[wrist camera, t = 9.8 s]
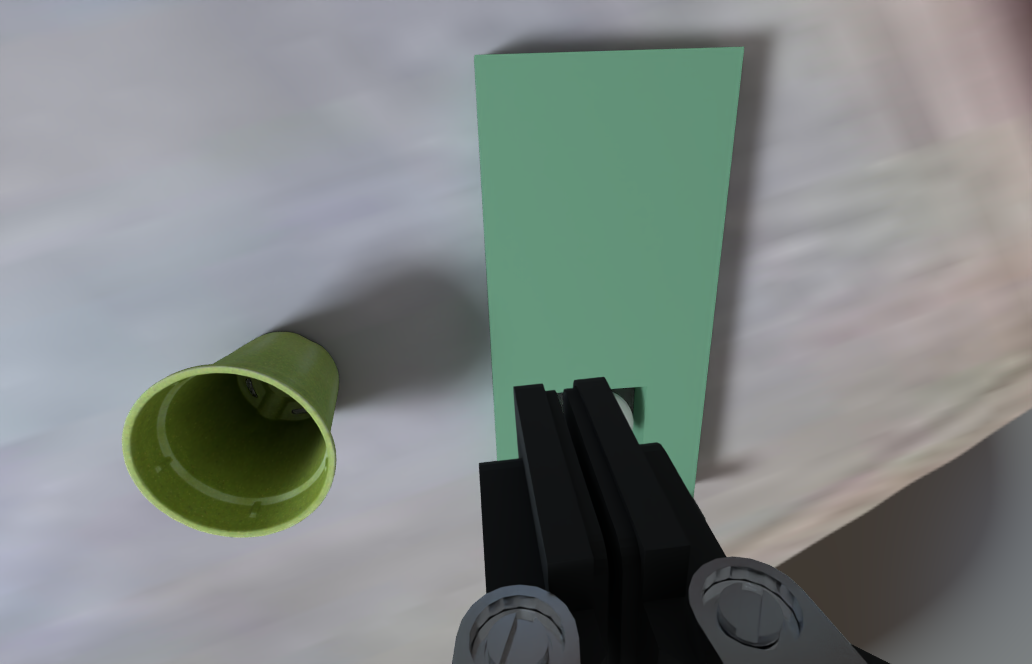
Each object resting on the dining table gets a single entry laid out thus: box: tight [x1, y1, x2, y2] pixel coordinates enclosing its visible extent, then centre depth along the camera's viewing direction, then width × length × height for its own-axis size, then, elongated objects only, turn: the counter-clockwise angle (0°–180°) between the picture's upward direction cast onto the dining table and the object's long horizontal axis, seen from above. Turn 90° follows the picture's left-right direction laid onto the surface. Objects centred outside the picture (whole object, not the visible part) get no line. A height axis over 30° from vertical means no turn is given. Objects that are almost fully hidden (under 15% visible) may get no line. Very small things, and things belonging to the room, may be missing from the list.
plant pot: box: [122, 332, 339, 537], centre depth 29 cm, size 9×9×9 cm
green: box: [474, 47, 744, 519], centre depth 31 cm, size 28×13×4 cm, turn 2°
